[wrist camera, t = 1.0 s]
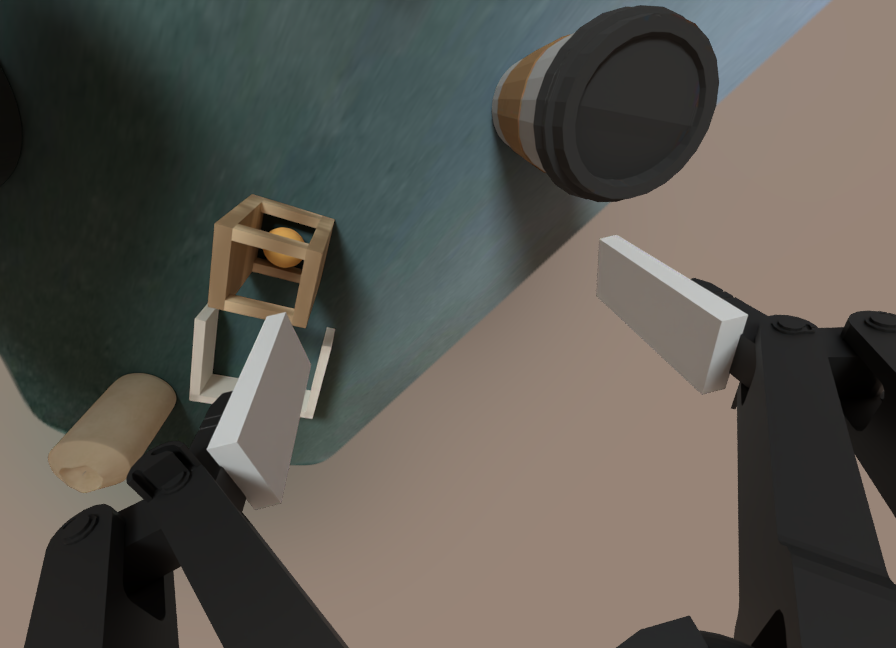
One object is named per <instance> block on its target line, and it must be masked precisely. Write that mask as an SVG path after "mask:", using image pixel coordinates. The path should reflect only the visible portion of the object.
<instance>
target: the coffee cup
mask: <svg viewBox="0 0 896 648" xmlns="http://www.w3.org/2000/svg"><path fill="white" fill-rule="evenodd" d="M718 86H719V77H718V67H717V59H716V56H715V54H714V51H713V49H712V46H711V44H710V41H709V39H708V38H707V37H706V35H705V34H704V33H703V32H702V31H701V30H700V29H699V28H698V26H697V25H696V24H695V23H693V22H691V21H689V20H687V19H685V18H684V17H683V16H681V15H679V14H677V13H675V12H673V11H671V10H669V9H667V8H665V7H658V6H642V5H640V6H635V7H623V8H619V9H616V10H613V11H609V12H606V13H602V14H601V15H599V16H597V17H596V18H594V19H593V20H591V21H590V22H588V23H587V24H585V25H583V26H582V27H580V28H579V29H578V30H577V31H576V32H575V33H573V34H571V35H567V36H564V37H561V38H559V39H557V40H555V41H553V42H552V43H550V44H548V45H546V46H544V47H542V48H540V49H538V50H536V51H534V52H533V53H531V54H530V55H528V56H527V57H525V58H523V59H521V60H520V61H518V62H517V63H515V64H514V65H512V66H511V67H510V68H509V69H508V70H507V71H506V72H505V73H504V75H503V76H502V78H501V80H500V81H499V83H498V85H497V87H496V90H495V94H494V97H493V103H492V117H493V123H494V126H495V129H496V131H497V133H498V135H499V137H500V138H501V139H502V140H503V142H504V143H505V144H507V145H508V146H509V147H511V148H512V149H513V151H515V152H516V153H517V154H519V155H520V156H521V157H523V158H524V159H525V160H527V161H528V162H530V163H531V164H532V165H534V166H535V167H537V168H538V169H539V170H541V171H542V172H544V173H547V174H548V176H549V177H550V178H551V180H552V181H553V182H554V183H555V184H556V185H557V186H559V187H560V188H561V189H563V190H564V191H566V192H567V193H569V194H570V195H574V196H577V197H581V198H584V199H589V200H593V201H596V202H617V201H620V200H623V199H629V198H633V197H636V196H640V195H643V194H647V193H649V192H650V191H652V190H654V189H656V188H657V187H659V186H661V185H663V184H665V183H666V182H667V181H668V180H669V179H671V178H672V177H673V176H674V175H675V174H676V173H678V172H679V171H680V170H681V169H682V168H683V167H684V165H685V164H686V163H687V162H688V161H689V159H690V158H691V157H692V155H693V154H694V153H695V152H696V151H697V149H698V147H699V145H700V143H701V142H702V140H703V138H704V136H705V134H706V132H707V131H708V129H709V125H710V122H711V119H712V116H713V113H714V110H715V107H716V102H717V94H718Z"/></svg>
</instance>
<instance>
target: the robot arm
mask: <svg viewBox="0 0 896 648" xmlns="http://www.w3.org/2000/svg"><path fill="white" fill-rule="evenodd" d="M21 145H22V128H21V120H20V115H19V111H18V107H17V104H16V101H15V98H14V95H13V92H12V90H11V87H10V85H9V83H8V81H7V79H6V77H5V75H4V73H3V71H2V69H1V67H0V186H1V185H2V184H3V183H4V182H5V181H6V180H7V179H8V178H9V176H10V175H11V174H12V172H13V171H14V169H15V167H16V165H17V162H18V159H19V156H20V152H21ZM596 296H597V297H598V298H599V299H600V300H601V301H602V302H603V303H604V304H606V305H607V306H608V307H609V308H610V309H611V310H612V311H613V312H614V313H615V314H616V315H617V316H618V317H620V318H621V319H622V320H623V321H624V322H625V323H626V324H627V325H628V326H629V327H630V328H631V329H632V330H633V331H634V332H636V333H637V334H638V335H639V336H640V337H641V338H642V339H643V340H644V341H645V342H646V343H647V344H648V345H649V346H650V347H652V348H653V349H654V350H655V351H656V352H657V353H658V354H659V355H660V356H661V357H662V358H663V359H664V360H665V361H666V362H668V363H669V364H670V365H671V366H672V367H673V368H674V369H675V370H676V371H677V372H678V373H679V374H681V376H683V377H684V378H685V379H686V380H687V381H688V382H689V383H690V384H691V385H692V386H694V388H695V389H696V390H697V391H699V392H700V393H701V394H702V395H703V394H707V393H711V392H714V391H718V390H722V389H725V388H726V384H727V381H728V378H729V374H731V375H733V376H734V377H735V378H736V379H738V380H739V381H740V383H739V386H738V389H737V392H736V395H735V398H734V401H733V404H732V407H731V408H732V409H736V407H737V430H738V431H737V438H738V439H737V440H738V521H739V522H738V523H739V525H738V526H739V527H738V528H739V611H738V617H737V622H736V626H735V633H734V639H733V638H730V637H727V636H724V635H721V634H716V633H711V632H706V631H699V630H698V629H697V627H696V625H695V624H694V622H693V620H692V619H691V617H690V616H686V617H683V618H679V619H676V620H673V621H669V622H666V623H662V624H659V625H655V626H652V627H648V628H645V629H641V630H639V631H638V632H636V633H635V634H634V635H633V636H631V637H630V638H628V639H627V640H626V641H625V642H623V643H622V644H620V645H619V646H618V647H616V648H896V584H894V583H893V582H892V581H891V580H890V578H889V576H888V573H887V571H886V567H885V563H884V560H883V556H882V552H881V549H880V545H879V541H878V538H877V534H876V530H875V527H874V523H873V520H872V516H871V513H870V509H869V505H868V501H867V498H866V494H865V490H864V487H863V483H862V480H861V476H860V472H859V469H858V465H857V461H856V458H855V455H856V457H857V458H858V460H859V461H860V463H861V465H862V466H863V468H864V469H865V471H866V472H867V474H868V475H869V477H870V479H871V480H872V482H873V483H874V485H875V486H876V488H877V489H878V491H879V493H880V494H881V496H882V497H883V499H884V500H885V502H886V503H887V505H888V506H889V508H890V509H891V511H892V513H893V514H894V516H895V517H896V315H895V314H891V313H887V312H881V311H878V312H877V311H860V312H856V313H853V314H851V315H850V316H849V318H848V320H847V322H846V324H845V326H844V327H838V328H818V327H817V326H816V325H814V324H812V323H811V322H809V321H807V320H804V319H801V318H799V317H793V316H789V315H773V316H767V315H765V314H763V313H761V312H760V311H758V310H756V309H755V308H752V307H751V306H749V305H747V304H746V303H744V302H743V301H741V300H739V299H737V298H736V297H735V298H733V296H732V295H731V294H729V293H727V292H723V290H722V289H720V288H718V287H717V286H715V285H713V284H712V283H709V282H706V281H703V280H699V279H696V278H692V279H689V278H687V277H685V276H683V275H682V274H680V273H679V272H677V271H675V270H674V269H672V268H671V267H669V266H667V265H666V264H664V263H662V262H661V261H659V260H657V259H656V258H654V257H652V256H651V255H649V254H647V253H646V252H644V251H643V250H641V249H639V248H638V247H636V246H634V245H632V244H631V243H629V242H628V241H626V240H624V239H623V238H621V237H620V236H618V235H614V236H609V237H605V238H601V239H599V254H598V273H597V293H596ZM310 368H311V363H310V361H309V359H308V357H307V355H306V353H305V351H304V349H303V347H302V345H301V343H300V340H299V338H298V336H297V334H296V332H295V330H294V328H293V326H292V324H291V322H290V320H289V317H288V315H287V313H286V312H284V313H279V314H275V315H271V316H267V317H266V319H265V321H264V324H263V326H262V328H261V330H260V333H259V335H258V337H257V339H256V341H255V344H254V346H253V348H252V350H251V352H250V355H249V357H248V359H247V361H246V363H245V366H244V368H243V370H242V372H241V375H240V377H239V379H238V381H237V383H236V386H235V388H234V390H233V391H230V392H225V393H222V394H221V395H220V396H219V397H218V398H217V399H216V401H215V402H214V403H213V404H212V405H211V406H210V408H209V410H208V412H207V414H206V416H205V420H203V422H202V424H201V426H200V430H199V431H198V432H197V434H196V436H195V438H194V440H193V442H192V444H191V446H190V448H189V449H188V447H187V446H186V445H185V444H184V443H182V442H180V441H170V442H167V443H164V444H161V445H159V446H157V447H155V448H153V449H152V450H150V451H148V452H147V453H146V454H144V455H143V456H142V457H141V458H139V459H138V460H137V461H136V463H135V464H134V465H133V466H132V467H131V469H130V470H129V472H128V474H127V484H128V485H129V486H130V487H131V488H132V489H134V490H135V491H136V492H137V493H138V494H139V495H140V496H141V497H142V498H143V499H144V500H142V501H140V502H138V503H136V504H134V505H131V506H130V507H127V508H125V509H123V510H121V511H119V512H117V511H115V510H114V509H113V508H112V507H111V506H108V505H106V504H101V505H95V506H92V507H90V508H88V509H86V510H83V511H82V512H80V513H78V514H77V515H75V516H74V517H72V518H71V519H70V520H68V521H67V522H66V523H65V524H64V525H63V526H62V527H61V528H60V529H59V530H58V531H57V532H56V533H55V535H54V536H53V537H52V539H51V540H50V542H49V544H48V547H47V549H46V553H45V557H44V561H43V566H42V570H41V575H40V580H39V584H38V588H37V592H36V597H35V601H34V605H33V610H32V614H31V619H30V623H29V628H28V632H27V637H26V641H25V645H24V648H179V642H178V628H177V614H176V601H175V588H174V574H173V570H175V569H177V568H179V567H180V566H181V567H182V569H183V571H184V573H185V575H186V577H187V579H188V580H189V582H190V584H191V586H192V588H193V590H194V592H195V594H196V596H197V598H198V599H199V601H200V603H201V605H202V607H203V609H204V611H205V613H206V615H207V616H208V618H209V620H210V622H211V624H212V626H213V628H214V630H215V632H216V634H217V636H218V637H219V639H220V641H221V643H222V645H223V647H224V648H348V646H347V645H346V643H345V642H344V641H343V640H342V638H341V637H340V636H339V635H338V633H337V632H336V631H335V630H334V628H333V627H332V626H331V624H330V623H329V622H328V621H327V619H326V618H325V617H324V615H323V614H322V613H321V612H320V611H319V609H318V608H317V607H316V605H315V604H314V603H313V601H312V600H311V599H310V598H309V596H308V595H307V594H306V593H305V591H304V590H303V589H302V588H301V586H300V585H299V584H298V582H297V581H296V580H295V579H294V577H293V576H292V575H291V573H289V571H288V570H287V568H286V567H285V566H284V565H283V564H282V562H281V561H280V560H279V558H278V557H277V556H276V554H275V553H274V552H273V551H272V549H271V548H270V547H269V546H268V544H267V543H266V542H265V540H264V539H263V538H262V537H261V535H260V534H259V533H258V532H257V530H256V529H255V528H254V526H253V525H252V524H251V523H250V521H249V520H248V519H247V518H246V516H245V515H244V514H243V513H242V511H243V507H244V504H245V501H246V499H247V501H248V502H249V503H250V504H251V506H252V507H253V508H254V509H255V510H258V509H261V508H265V507H269V506H273V505H276V504H281V502H282V498H283V493H284V488H285V483H286V479H287V474H288V470H289V465H290V460H291V456H292V451H293V447H294V442H295V437H296V433H297V428H298V423H299V419H300V414H301V409H302V405H303V400H304V395H305V391H306V386H307V382H308V377H309V372H310Z"/></svg>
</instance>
